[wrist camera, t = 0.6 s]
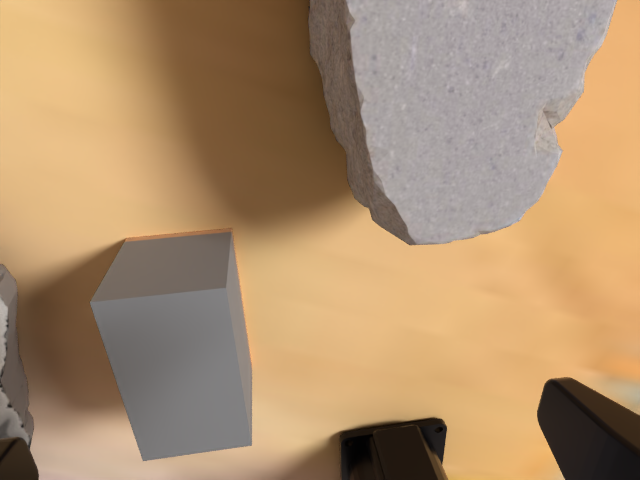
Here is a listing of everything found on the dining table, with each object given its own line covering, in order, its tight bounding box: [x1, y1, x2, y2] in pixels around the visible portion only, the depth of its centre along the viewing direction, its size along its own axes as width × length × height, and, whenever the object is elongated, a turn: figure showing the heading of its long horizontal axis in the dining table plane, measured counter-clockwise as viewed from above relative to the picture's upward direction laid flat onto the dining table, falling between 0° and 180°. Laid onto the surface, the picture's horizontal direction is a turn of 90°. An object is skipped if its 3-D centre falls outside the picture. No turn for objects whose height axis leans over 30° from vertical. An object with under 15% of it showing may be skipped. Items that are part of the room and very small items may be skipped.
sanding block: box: [90, 228, 252, 461], centre depth 19 cm, size 8×4×5 cm, turn 2°
